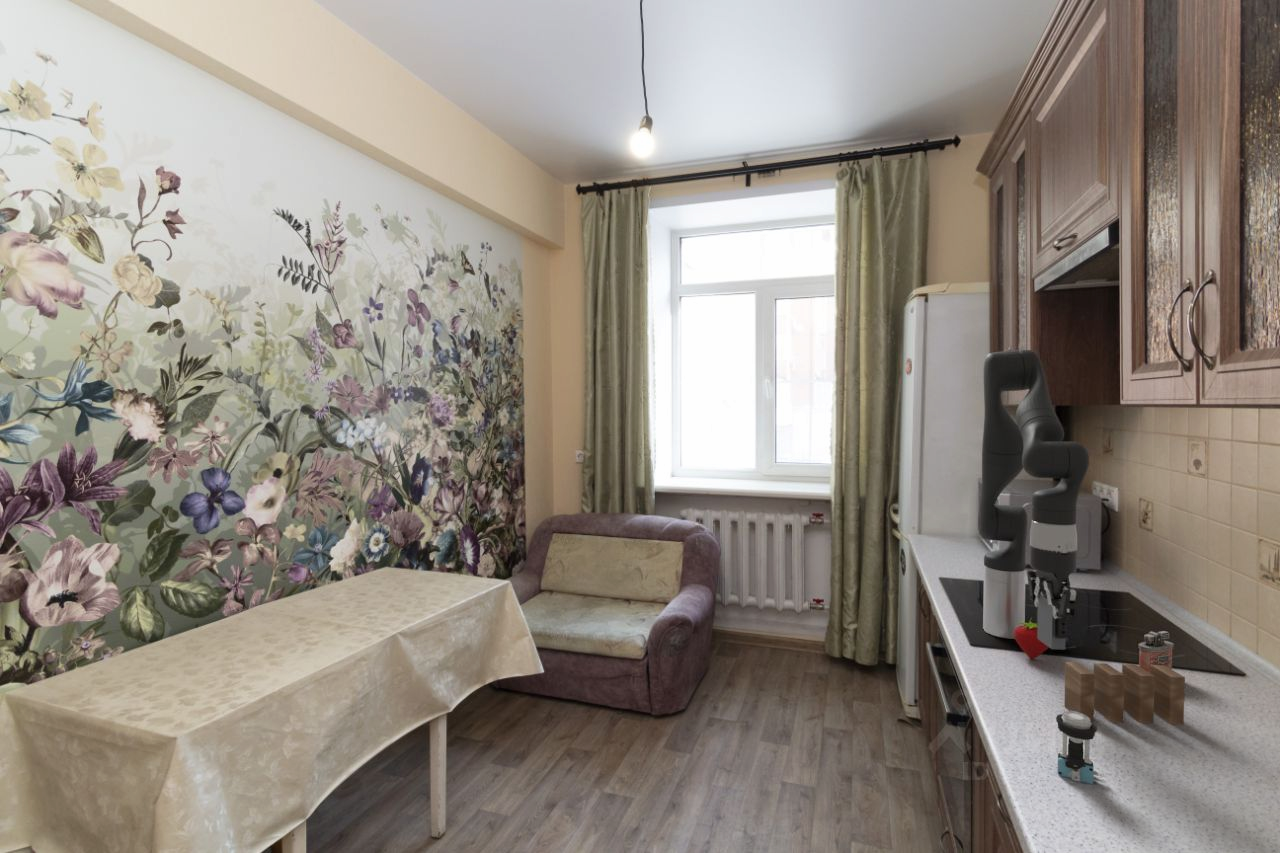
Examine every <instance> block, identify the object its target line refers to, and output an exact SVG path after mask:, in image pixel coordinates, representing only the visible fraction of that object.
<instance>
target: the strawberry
mask: <svg viewBox="0 0 1280 853" xmlns="http://www.w3.org/2000/svg"><path fill="white" fill-rule="evenodd" d="M1032 619H1033V617H1031V618H1030V620H1029V622H1025V623H1021V622H1019V623H1021V624H1024V626H1018V627H1017V628H1015V631H1014V636H1015V639H1014V640H1015V642H1016V643H1017V644H1018V646H1019V647H1020V649H1021V650H1022V651H1023V652H1024V653H1025V654H1026V656H1027V657H1028V658H1029V659H1037V657H1039V656H1040V655H1042V654H1043V653H1044V652H1045V651H1046V650H1048V649H1049V648H1050V647H1048V646H1047V645H1045V644H1044V643H1043V642H1041V641H1040V640H1038V639H1037V634H1038V625H1037V622H1036V623H1035V622H1032V621H1031V620H1032Z"/></svg>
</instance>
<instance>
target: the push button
mask: <svg viewBox="0 0 1280 853" xmlns="http://www.w3.org/2000/svg"><path fill="white" fill-rule="evenodd" d="M1055 718H1056V719H1055V721H1056V722H1057V728H1058V730H1059V731H1060V732H1061V733H1062V742H1061V744H1062V746H1061V748H1062V750H1061V751H1060V752H1059V753H1057V774H1058V775H1059V776H1061V777H1064V778H1065V777H1066V778H1068V779H1069V778H1070V779H1071V780H1072V781H1076V782H1083V783H1087V784H1090V785H1093V784H1094V781H1095V782H1101V783H1104V784H1107V780H1106V778H1107V774H1105V773H1103V772H1099V771H1097V770H1096V771H1095V770H1094V763H1093V761H1092V759H1091V758H1090V753H1091V752H1090V747H1091V746H1090V744H1091V740H1093V739H1094V738H1095V736H1096V732H1097V730H1098V727H1097V725H1096V724H1095V722H1093V721H1090V718H1089V717H1088V716H1086V715H1084V714H1082V713H1079V712H1075V711H1069V710H1064V711H1063V712H1062V713H1061V714H1058V715H1056V717H1055ZM1097 776H1100V777H1103V778H1105V779H1103V778H1100V777H1097Z"/></svg>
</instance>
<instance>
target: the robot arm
mask: <svg viewBox="0 0 1280 853" xmlns="http://www.w3.org/2000/svg"><path fill="white" fill-rule="evenodd" d="M1041 360H1042V359H1041V358H1040V356H1039V355H1038V353H1037V352H1036V351H1034V350H1031V349H1019V350H1017V349H1016V350H1007V351H1006V350H1005V351H1004V350H1003V351H995V352H990V353H988V354H987V355H986V357H985V358H984V363H983V396H984V397H983V398H984V400H983V401H984V418H983V419H984V421H983V433H982V444H981V445H982V447H981V491H980V499H979V508H978V515H977V529H978V534H979V536H980V537H981V538H982V539H984V540H989V541H997V542H1010V543H1009V545H1007V546H1006V547H1004V548H1001V549H998V550H992V551H989V552H987V553H985V554H984V556H983V601H982V602H983V605H982V606H983V608H982V610H983V614H982V615H983V617H982V629H984V630H983V631H984V632H985V633H987V634H990V635H991V636H994V637H998V638H1002V639H1003V638H1004V639H1010V640H1011V639H1013V640H1016V639H1015V636H1014V631H1015V628H1017V627H1018V626H1024V624H1021V623H1026V622H1025V620H1026V618H1025V617H1026V615H1025V612H1026V574H1027V584H1028V593H1029V594H1028V595H1029V600H1030V601H1032V602H1034V606H1035V608H1036V624H1037V625H1038V599H1039V598H1040V595H1045V596H1047V599H1048V604H1049V605H1050V606H1051V607H1053V617H1054V618H1053V636H1054V637H1055V638H1062V639H1065V638H1066V639H1067V637H1068V621H1069V620H1076V619H1077V615H1078V610H1079V605H1080V600H1081V590H1079V589H1074V588H1072V587H1071V582H1070V575H1072V574H1075V573H1076V572H1077V570H1078V569H1077V568H1078V567H1077V566H1078V564H1077V563H1078V531H1077V524H1076V523H1077V503H1078V498H1079V494H1080V490H1081V488H1082V484H1083V483H1084V480H1085V477H1086V474H1087V472H1088V468H1089V465H1090V455H1089V452H1088V450H1087V449H1086V447H1085V446H1084V445H1083V444H1081V443H1080V442H1077V441H1063V440H1064V438H1065V431H1064V428H1063V425H1062V423H1061V422H1060V419H1059V417H1058V416H1057V413H1056V412H1055V409H1054V407H1053V404H1052V400H1051V397H1050V396H1051V395H1050V392H1049V391H1050V390H1049V387H1048V382H1047V379H1046V375H1045V370H1044V367H1043V363H1042V361H1041ZM1025 390H1028V391H1027V393H1026V395H1025V396H1024V398H1023V399H1022V400H1021V402H1020V403H1019V405H1018V407H1017V409H1016V412H1015V420H1014V419H1013V418H1012V417H1011V415H1010V414H1009V412H1008V411H1007V408H1006V407H1005V406H1004V404H1003V401H1002V392H1009V391H1010V392H1013V391H1014V392H1015V391H1025ZM1023 470H1024V471H1025V473H1026V474H1028V475H1029V476H1031V477H1033V478H1036V479H1038V478H1039V479H1060V481H1059V482H1058V484H1057V485H1056V486H1055V487H1052V488H1046V489H1040V490H1037V491H1034V492H1033V493H1032V496H1031V524H1030V530H1029V566H1030V567H1031V568H1032V569H1034V570H1032V569H1031V570H1030V569H1027V573H1026V552H1027V551H1026V549H1027V535H1028V524H1029V523H1028V521H1029V520H1028V513H1027V511H1026V509H1025V507H1023V506H1019V505H1009V504H1007V505H1006V504H996V502H997V501H998V498H999V497H1000V495H1001V493H1002V492H1003V491H1004V490H1005V489H1006V488H1007V486H1009V485H1010V484H1011V483H1012V482H1013V481H1014V480H1015V479H1016V478H1017V476H1019V474H1020V473H1021V472H1022V471H1023ZM1054 599H1056V600H1061V602H1056V601H1055V600H1054ZM1058 606H1060V609H1059V612H1058ZM1019 622H1021V623H1019Z"/></svg>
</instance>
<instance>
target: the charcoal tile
mask: <svg viewBox="0 0 1280 853" xmlns="http://www.w3.org/2000/svg"><path fill="white" fill-rule="evenodd" d="M1054 600H1055V601H1056V602H1061V600H1056V599H1054ZM1059 609H1060V606H1058V612H1059ZM1053 618H1054V617H1053V607H1051V606H1050V605H1049V604H1048V599H1047V596H1045V595H1040V598H1039V599H1038V634H1037V639H1038V640H1040V641H1041V642H1043V643H1044V644H1045V645H1047V646H1048V647H1049V648H1050V649H1051V650H1062V651H1063V650H1066V639H1067V637H1066V638H1065V639H1062V638H1055V637H1054V636H1053Z"/></svg>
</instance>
